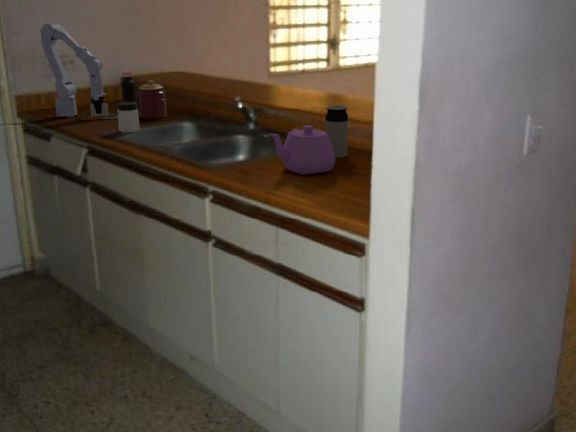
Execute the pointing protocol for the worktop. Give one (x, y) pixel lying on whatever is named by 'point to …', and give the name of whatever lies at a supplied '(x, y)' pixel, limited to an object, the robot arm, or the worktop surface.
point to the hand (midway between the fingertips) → (99, 112)
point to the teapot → (306, 151)
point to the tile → (103, 112)
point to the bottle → (128, 88)
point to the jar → (128, 117)
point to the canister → (152, 101)
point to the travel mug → (337, 129)
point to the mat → (111, 116)
